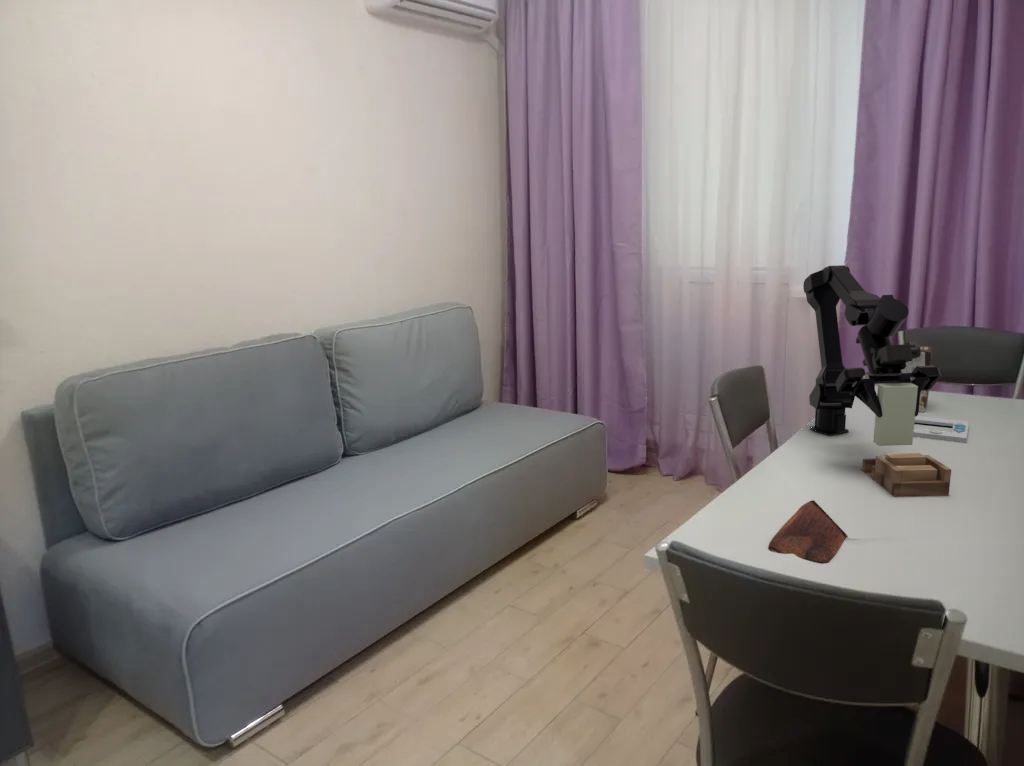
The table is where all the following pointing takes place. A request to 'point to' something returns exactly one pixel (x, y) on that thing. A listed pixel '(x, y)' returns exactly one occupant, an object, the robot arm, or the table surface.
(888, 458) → the oak offcut
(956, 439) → the electronic device
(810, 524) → the wooden tablet
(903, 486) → the offcut rack
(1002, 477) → the table surface
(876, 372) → the robot arm
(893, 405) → the tall board
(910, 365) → the coffee box
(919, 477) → the small oak offcut
